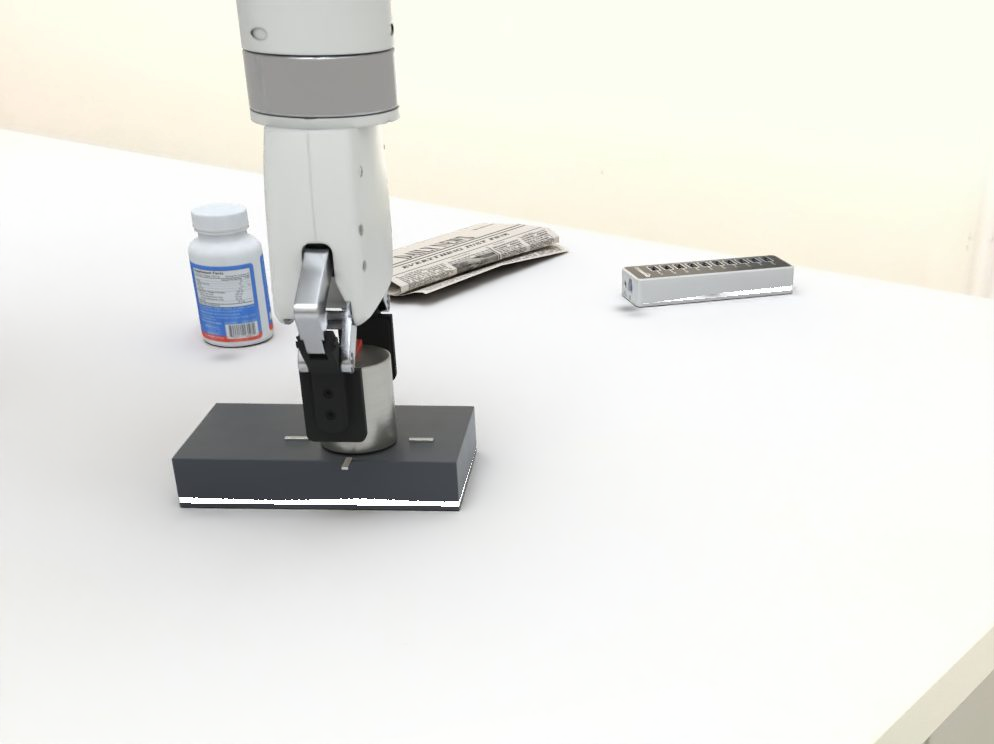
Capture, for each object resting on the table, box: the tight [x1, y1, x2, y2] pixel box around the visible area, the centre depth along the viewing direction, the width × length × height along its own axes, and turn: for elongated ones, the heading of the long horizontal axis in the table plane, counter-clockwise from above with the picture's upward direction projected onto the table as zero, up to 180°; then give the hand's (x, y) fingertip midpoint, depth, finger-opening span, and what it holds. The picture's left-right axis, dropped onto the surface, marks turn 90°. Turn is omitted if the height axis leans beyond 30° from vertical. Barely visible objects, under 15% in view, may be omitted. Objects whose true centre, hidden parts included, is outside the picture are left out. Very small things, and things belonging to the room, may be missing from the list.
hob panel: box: [171, 402, 478, 511], centre depth 79 cm, size 16×10×3 cm, turn 90°
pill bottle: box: [187, 202, 275, 348], centre depth 101 cm, size 6×5×10 cm
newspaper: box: [388, 222, 570, 297], centre depth 121 cm, size 23×12×2 cm, turn 146°
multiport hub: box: [621, 254, 795, 308], centre depth 115 cm, size 4×14×2 cm, turn 110°
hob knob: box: [321, 339, 398, 454], centre depth 76 cm, size 4×4×5 cm
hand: (354, 408), depth 76 cm, fingers open, 9 cm apart
